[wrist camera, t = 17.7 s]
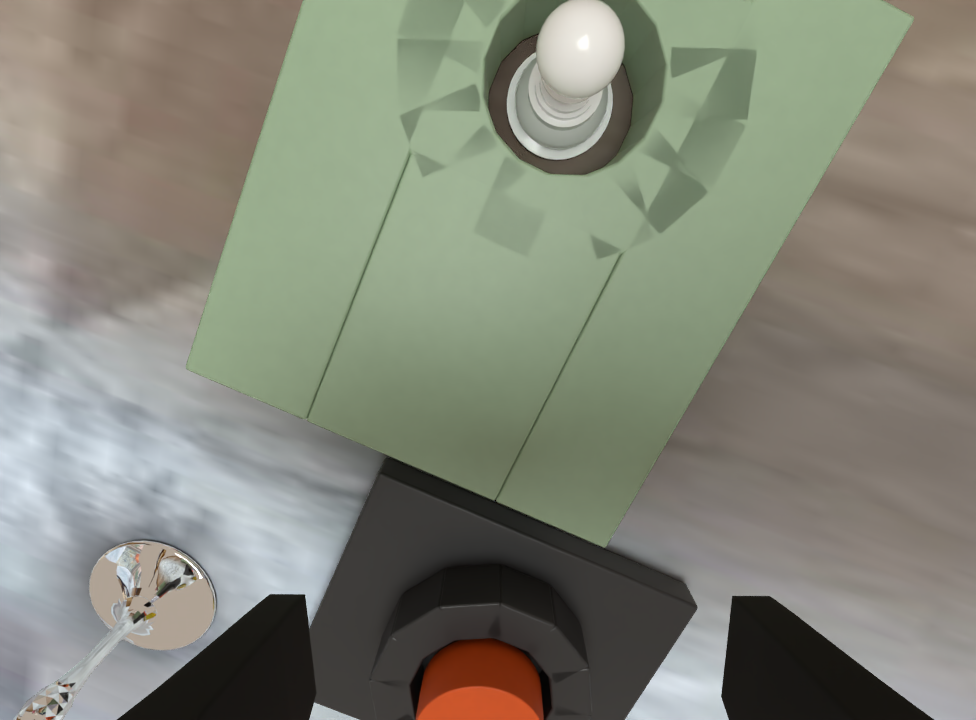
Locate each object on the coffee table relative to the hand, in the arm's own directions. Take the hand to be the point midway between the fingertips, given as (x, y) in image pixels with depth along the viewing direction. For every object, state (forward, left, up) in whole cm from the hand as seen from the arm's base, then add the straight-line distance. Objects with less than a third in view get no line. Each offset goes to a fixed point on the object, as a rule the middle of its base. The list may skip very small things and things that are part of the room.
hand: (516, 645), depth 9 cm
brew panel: (-2, +6, -8) cm, 11 cm away
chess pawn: (+3, -10, -8) cm, 13 cm away
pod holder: (+3, -7, -8) cm, 11 cm away
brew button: (-2, +6, -6) cm, 9 cm away
